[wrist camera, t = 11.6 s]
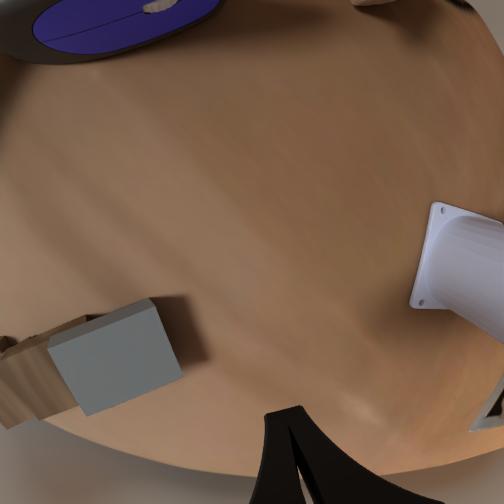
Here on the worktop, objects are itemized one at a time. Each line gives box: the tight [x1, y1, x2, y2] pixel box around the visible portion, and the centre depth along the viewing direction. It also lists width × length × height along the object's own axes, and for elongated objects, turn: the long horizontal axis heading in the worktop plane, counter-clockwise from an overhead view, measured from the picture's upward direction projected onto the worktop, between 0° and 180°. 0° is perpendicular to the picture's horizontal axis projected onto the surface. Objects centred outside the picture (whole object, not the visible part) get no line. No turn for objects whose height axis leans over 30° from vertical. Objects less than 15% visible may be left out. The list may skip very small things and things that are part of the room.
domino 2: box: [0, 315, 89, 420], centre depth 17 cm, size 2×5×7 cm
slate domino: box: [47, 298, 184, 416], centre depth 17 cm, size 2×5×7 cm
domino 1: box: [0, 336, 35, 429], centre depth 16 cm, size 2×5×7 cm
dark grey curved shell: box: [0, 0, 227, 64], centre depth 10 cm, size 16×5×9 cm, turn 90°
